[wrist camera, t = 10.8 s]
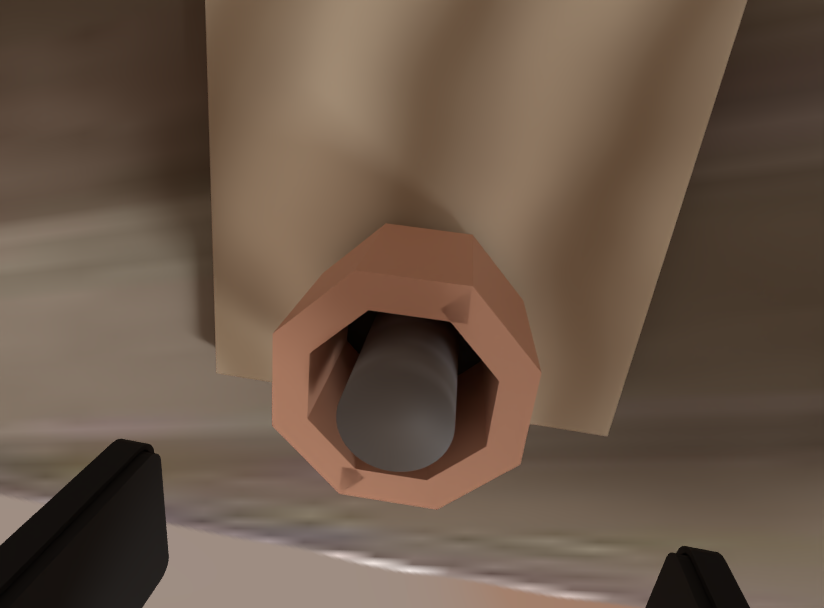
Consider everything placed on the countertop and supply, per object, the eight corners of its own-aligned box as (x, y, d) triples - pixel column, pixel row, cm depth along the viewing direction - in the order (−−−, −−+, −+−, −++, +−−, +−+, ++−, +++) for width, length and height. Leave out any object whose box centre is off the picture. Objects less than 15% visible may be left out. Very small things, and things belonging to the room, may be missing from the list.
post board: (785, -193, 14) (1167, -542, 6) (598, 414, 22) (669, 592, 14) (222, -247, 15) (-47, -613, 7) (231, 356, 23) (106, 493, 15)
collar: (534, 242, 17) (558, 298, 12) (498, 421, 20) (506, 521, 15) (325, 215, 17) (272, 258, 13) (318, 393, 20) (271, 482, 15)
